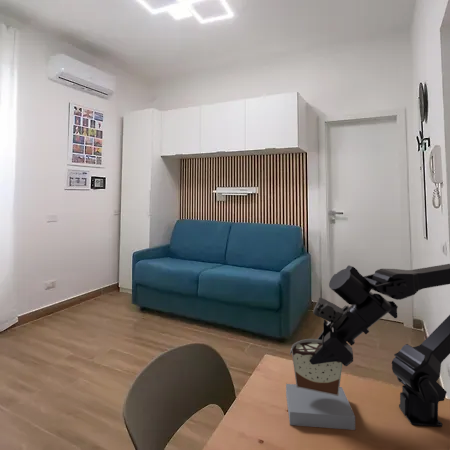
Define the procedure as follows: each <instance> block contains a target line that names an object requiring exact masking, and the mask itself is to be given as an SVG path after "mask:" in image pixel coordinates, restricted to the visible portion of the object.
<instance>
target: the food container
mask: <svg viewBox="0 0 450 450" xmlns="http://www.w3.org/2000/svg"><path fill="white" fill-rule="evenodd" d="M321 346H322V340H319V339H318V338H317V339H316V338H306V339H301V340H298V341H296V342H294V343H293V344H292V345H291V348H290V351H289V356H291V355H292V356H291V357H292V363H293V364H292V365H293V371H294V377H295V378H294V379H295V384H296V386H297V388H302V389H307V390H312V391H316V392H321V393H326V394H331V395H335V396H339V388H340V387H341V386H340V385H341V377H342V370H343V364H342V363H341V362H340V361H337V362H327V363H320V364H314V365H312V364H311V363H310V359H311V358H312V356H313V355H314V354H315V353H316V352H317V350H318V349H319V348H320V347H321Z"/></svg>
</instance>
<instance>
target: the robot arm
mask: <svg viewBox="0 0 450 450" xmlns="http://www.w3.org/2000/svg"><path fill="white" fill-rule="evenodd" d="M446 285H450V263H447V264H440V265H433V266H428V267H427V266H426V267H423V268H415V269H398V268H379V269H377V270H375V272H374V273H372V274H369V275H364V276H363V275H362V274H361V273H360V271H359V270H358V269H357V268H355V267H354V266H352V265H347V267H346V268H343V269H342V270H339V271H338V272H336V273H334V274H333V275H332V276H331V278H330V279H329V282H328V286H329V288H330V289H331V290H332V291H333V292H334V293H335V294H336V295H337V296H339V297H340V298H341V299H342V300H343V301H345V302H346V303H347V304H348V305H345V306H342V307H340V306H338V305H337V304H335V303H332V302H331V301H330V300H327V299H325V298H323V297H318V300H317V302H316V304H315V305H314V307H313V311H312V313H313V315H315V316H317V317H318V318H321V319H323V324H322V325H323V326H322V327H323V329H322V330H321V333H320V334H319V336H318V337H317V339H319V340H322V346H321V347H320V348H319V349H318V350H317V352H316V353H315V354H314V355H313V356H312V358H311V359H310V363H311V364H312V365H314V364H320V363H327V362H337V361H340V362H341V363H342V366H344V367H348V366H349V365H350V364H351V363H353V362H354V352H353V347H352V346H353V345H354V344H356V342H355V340H356V339H357V338H358V337H360V335H362V334H365V335H367V334H368V333H370V328H371V327H372V326H373V325H374V324H376V323H377V322H379V320H380V319H381V318H383V317H384V316H385V315H390V316H391V317H392V318H393V319H398V308H399V307H398V305H397V304H396V303H395V302H394V300H396V301H398V300H404V299H407V298H410V297H413V296H414V295H416V294H417V293H418V292H419V291H420V290H424V289H429V288H436V287H441V286H446ZM371 291H374V292H375V293H373V292H371ZM376 292H377V293H376ZM382 295H384V296H386V297H388V298H392V299H394V300H387V299H386V298H385V297H383V296H382ZM349 305H350V306H349ZM393 355H394V358H393V359H392V361H391V370H392V373H393V374H394V375H395V377H396V378H397V381H398V382H399V383H401V384H402V389H401V390H402V391H401V392H400V393H399V404H398V407H399V409H400V411H401V412H402V413H403V416H405V418H406V419H407V420H408V422H409V423H410V424H411V425H412V426H413V425H414V426H427V427H439V428H440V427H443V423H442V421H440V420H439V403H440V402H444V401H445V399H446V395H447V391H446V390H445V388H443V386H442V385H440V384H439V382H438V381H439V379H440V378H441V377H440V376H441V371H442V370H441V369H442V368H441V366H442V362H443V361H445V360H446V358H448V357H449V355H450V314H449V315H448V316H447V317H446V318H445V319H444V320H443V321H442V322H441V323H440V324H439V325H438V326H437V327H436V328H435V329H434V330H433V331H432V332H431V333H429V335H428V336H427V337H426V339H425V340H424V341H423V342H422V343H421V344H419V345H417V346H416V345H415V346H411V345H409V344H408V343H407V344H404V345H402V347H401V349H400V350H398V352H395V353H394V354H393Z"/></svg>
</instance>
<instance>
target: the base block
mask: <svg viewBox="0 0 450 450" xmlns="http://www.w3.org/2000/svg"><path fill="white" fill-rule="evenodd" d="M285 394H286V395H285V396H286V403H287V404H286V405H287V411H288V419H289V425H290V426H298V427H314V428H325V429H326V428H327V429H336V430H338V429H339V430H350V431H351V430H352V431H355V430H356V414H355V413H354V410H353V408H352V406H351V404H350V401H349V400H348V397H347V395H346V393H345V390H344V388H343V387H342V386H340V388H339V396H335V395H331V394H326V393H321V392H316V391H312V390H307V389H302V388H297V386H296V383H295V384H294V383H286V384H285Z"/></svg>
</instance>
